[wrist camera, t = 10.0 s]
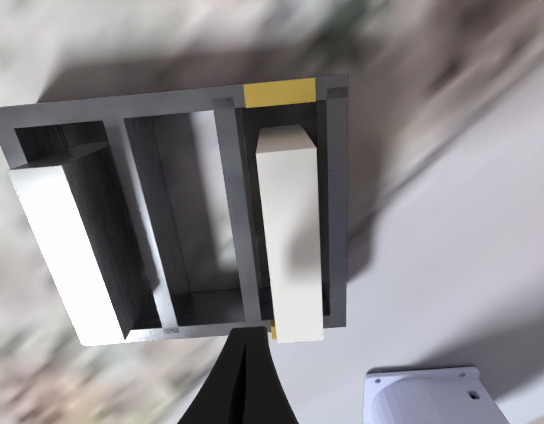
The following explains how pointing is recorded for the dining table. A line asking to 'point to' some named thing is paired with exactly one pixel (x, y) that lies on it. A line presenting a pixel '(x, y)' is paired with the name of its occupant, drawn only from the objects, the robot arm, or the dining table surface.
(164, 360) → the dining table surface
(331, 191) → the rack
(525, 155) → the dining table surface
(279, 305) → the block
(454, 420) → the robot arm
